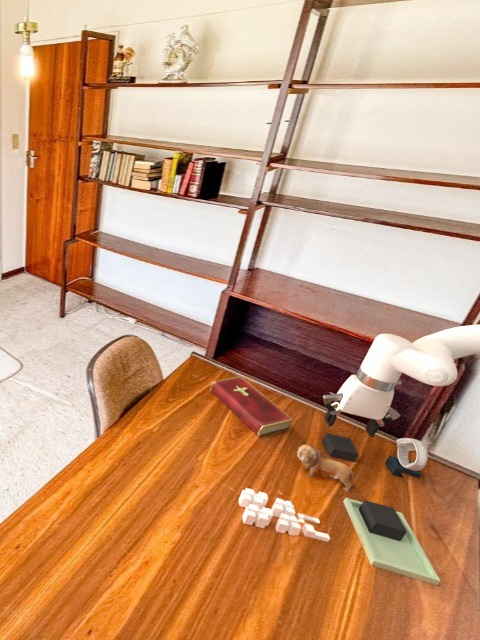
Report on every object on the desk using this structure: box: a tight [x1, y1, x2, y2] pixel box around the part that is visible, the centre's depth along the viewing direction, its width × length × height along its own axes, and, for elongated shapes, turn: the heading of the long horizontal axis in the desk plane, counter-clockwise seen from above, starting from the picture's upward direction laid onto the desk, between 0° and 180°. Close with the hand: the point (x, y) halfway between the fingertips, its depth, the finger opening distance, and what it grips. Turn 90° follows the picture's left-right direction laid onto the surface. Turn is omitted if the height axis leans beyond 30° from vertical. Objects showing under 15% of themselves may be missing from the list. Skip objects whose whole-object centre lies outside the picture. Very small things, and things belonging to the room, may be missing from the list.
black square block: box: [359, 499, 407, 541], centre depth 92 cm, size 6×6×4 cm
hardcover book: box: [209, 375, 294, 438], centre depth 126 cm, size 12×21×4 cm, turn 16°
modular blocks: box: [238, 487, 331, 543], centre depth 92 cm, size 20×7×4 cm, turn 75°
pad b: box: [321, 432, 360, 463], centre depth 112 cm, size 6×6×4 cm
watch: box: [384, 437, 429, 479], centre depth 105 cm, size 6×8×11 cm
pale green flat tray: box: [343, 497, 441, 586], centre depth 90 cm, size 12×16×2 cm
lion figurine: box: [296, 444, 356, 493], centre depth 103 cm, size 15×5×9 cm, turn 68°
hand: (348, 427), depth 109 cm, fingers open, 9 cm apart
